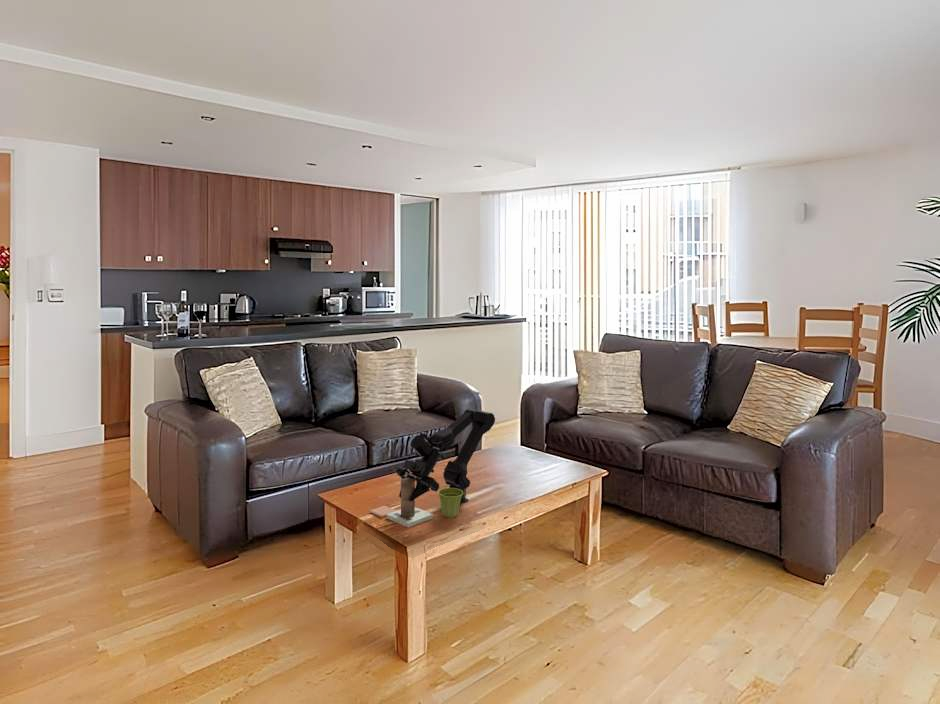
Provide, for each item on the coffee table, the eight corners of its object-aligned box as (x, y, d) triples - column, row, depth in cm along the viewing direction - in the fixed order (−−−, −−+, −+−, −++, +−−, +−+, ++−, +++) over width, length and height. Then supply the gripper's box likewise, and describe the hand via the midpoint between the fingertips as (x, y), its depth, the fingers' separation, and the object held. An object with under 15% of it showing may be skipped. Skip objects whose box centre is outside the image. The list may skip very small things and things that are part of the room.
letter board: (411, 509, 241) (411, 505, 241) (433, 518, 233) (433, 514, 233) (386, 518, 232) (386, 514, 232) (408, 527, 224) (408, 523, 224)
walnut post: (408, 511, 235) (408, 477, 234) (417, 514, 232) (417, 480, 230) (398, 514, 232) (398, 480, 230) (407, 518, 228) (407, 483, 227)
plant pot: (462, 509, 242) (463, 487, 241) (463, 519, 232) (463, 496, 231) (438, 509, 241) (438, 487, 240) (437, 519, 232) (437, 496, 231)
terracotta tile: (384, 507, 243) (384, 505, 242) (396, 512, 238) (396, 510, 238) (369, 512, 237) (369, 510, 237) (381, 517, 233) (381, 515, 233)
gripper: (399, 445, 238) (376, 481, 231) (433, 456, 225) (410, 494, 219) (414, 461, 245) (392, 496, 238) (449, 473, 232) (426, 510, 226)
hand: (404, 498), depth 230 cm, fingers closed on walnut post, 5 cm apart
